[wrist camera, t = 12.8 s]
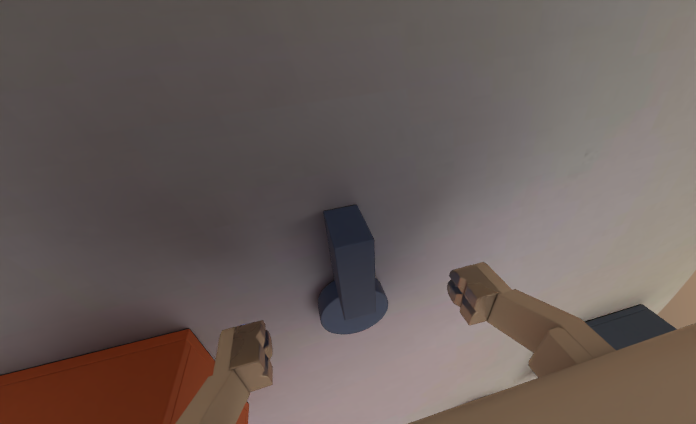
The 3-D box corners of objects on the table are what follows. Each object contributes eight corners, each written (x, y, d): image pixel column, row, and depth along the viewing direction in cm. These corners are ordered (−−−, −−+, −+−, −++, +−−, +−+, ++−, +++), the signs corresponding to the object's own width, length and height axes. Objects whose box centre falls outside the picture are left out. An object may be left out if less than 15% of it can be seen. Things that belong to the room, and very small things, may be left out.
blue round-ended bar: (296, 216, 12) (302, 255, 9) (381, 199, 12) (403, 232, 10) (322, 323, 17) (329, 365, 14) (381, 308, 17) (396, 345, 15)
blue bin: (573, 325, 27) (632, 382, 23) (642, 304, 29) (710, 353, 24) (537, 371, 34) (578, 423, 29) (595, 352, 35) (643, 398, 30)
